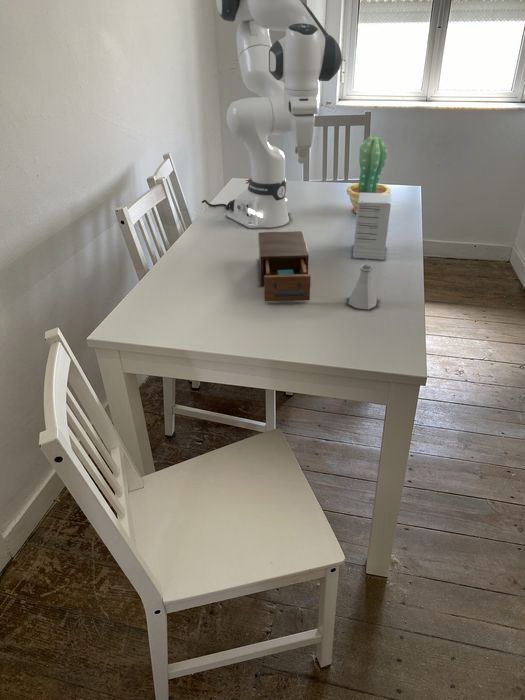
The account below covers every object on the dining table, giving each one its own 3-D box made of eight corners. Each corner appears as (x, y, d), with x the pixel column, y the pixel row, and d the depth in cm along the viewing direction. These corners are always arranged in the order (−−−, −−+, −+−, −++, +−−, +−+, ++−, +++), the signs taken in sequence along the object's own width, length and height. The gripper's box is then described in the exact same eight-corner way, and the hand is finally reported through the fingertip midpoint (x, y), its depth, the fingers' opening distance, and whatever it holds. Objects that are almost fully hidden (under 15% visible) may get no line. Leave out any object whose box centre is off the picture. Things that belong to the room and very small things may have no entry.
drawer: (312, 311, 129) (313, 286, 125) (265, 313, 128) (265, 288, 125) (303, 273, 146) (304, 250, 142) (262, 274, 146) (262, 251, 142)
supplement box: (384, 260, 154) (391, 203, 145) (352, 258, 156) (357, 202, 146) (384, 247, 162) (391, 192, 153) (354, 245, 164) (359, 191, 154)
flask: (370, 312, 130) (374, 276, 124) (343, 305, 133) (346, 269, 127) (381, 300, 135) (385, 264, 129) (355, 293, 138) (358, 258, 132)
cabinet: (307, 284, 142) (308, 255, 137) (260, 286, 142) (260, 256, 137) (301, 258, 156) (302, 231, 151) (259, 260, 156) (258, 232, 151)
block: (278, 290, 135) (278, 276, 133) (277, 283, 139) (277, 269, 136) (293, 290, 135) (294, 276, 133) (292, 283, 139) (292, 269, 137)
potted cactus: (392, 207, 192) (402, 134, 178) (382, 221, 180) (391, 144, 166) (351, 201, 197) (357, 130, 183) (338, 215, 186) (344, 140, 172)
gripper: (285, 94, 140) (285, 148, 148) (292, 108, 123) (290, 168, 131) (309, 93, 140) (307, 148, 148) (318, 107, 123) (316, 168, 131)
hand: (299, 158), depth 139 cm, fingers open, 8 cm apart
